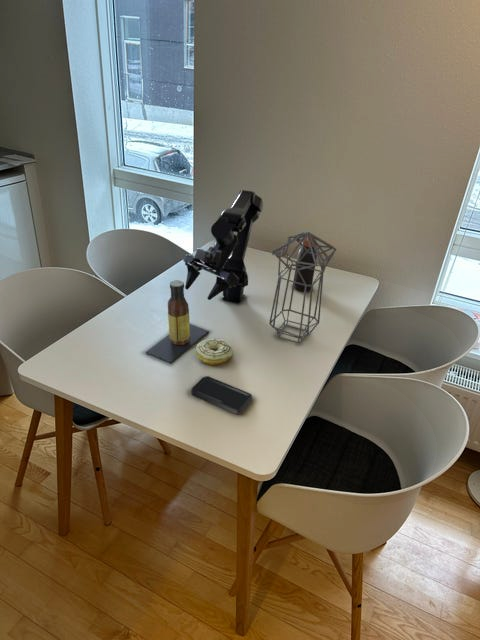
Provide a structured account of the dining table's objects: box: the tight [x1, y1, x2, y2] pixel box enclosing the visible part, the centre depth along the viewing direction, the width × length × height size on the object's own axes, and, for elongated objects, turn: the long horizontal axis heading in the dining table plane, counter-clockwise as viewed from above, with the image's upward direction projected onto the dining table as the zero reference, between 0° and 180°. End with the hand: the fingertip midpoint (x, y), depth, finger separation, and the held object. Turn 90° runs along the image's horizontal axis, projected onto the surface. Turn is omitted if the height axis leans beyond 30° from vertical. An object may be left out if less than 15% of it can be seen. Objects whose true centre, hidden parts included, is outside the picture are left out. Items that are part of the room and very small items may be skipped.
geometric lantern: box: [268, 231, 337, 344], centre depth 144 cm, size 16×16×35 cm
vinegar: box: [294, 238, 318, 293], centre depth 176 cm, size 7×7×20 cm
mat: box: [145, 323, 209, 364], centre depth 146 cm, size 20×9×1 cm, turn 150°
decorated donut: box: [195, 338, 234, 366], centre depth 140 cm, size 10×11×4 cm
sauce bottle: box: [167, 279, 191, 345], centre depth 140 cm, size 6×6×20 cm
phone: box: [190, 375, 253, 415], centre depth 125 cm, size 8×1×15 cm
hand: (197, 294), depth 144 cm, fingers open, 9 cm apart
